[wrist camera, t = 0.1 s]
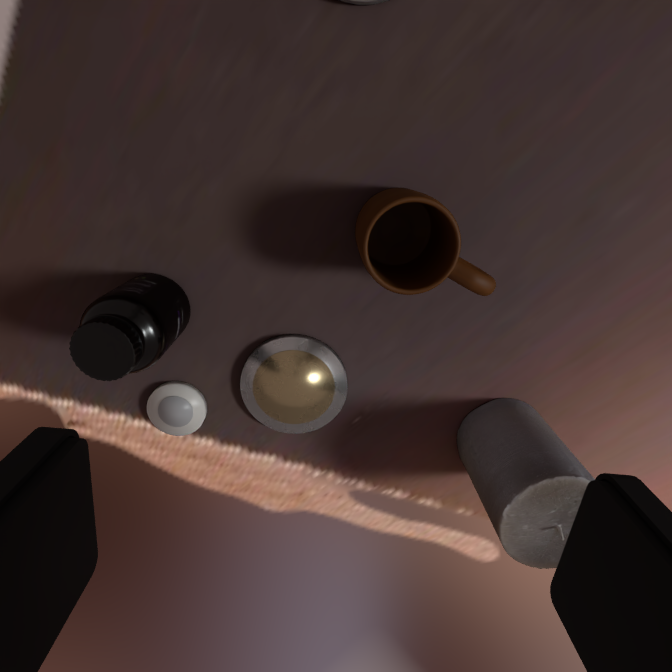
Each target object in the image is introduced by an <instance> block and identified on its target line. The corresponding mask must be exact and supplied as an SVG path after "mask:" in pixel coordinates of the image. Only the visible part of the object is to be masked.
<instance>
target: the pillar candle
mask: <svg viewBox="0 0 672 672" xmlns="http://www.w3.org/2000/svg"><path fill="white" fill-rule="evenodd" d="M457 446H458V450H459V456H460V459H461V460H462V462H463V464H464V466H465V468H466V470H467V472H468V474H469V476H470V478H471V480H472V483H473V485H474V487H475V489H476V491H477V493H478V495H479V497H480V499H481V501H482V503H483V506H484V508H485V510H486V512H487V514H488V516H489V518H490V520H491V522H492V524H493V527H494V529H495V531H496V533H497V535H498V537H499V539H500V541H501V543H502V546H503V548H504V549H505V551H506V552H507V553H508V554H509V555H510V556H511V557H512V558H513V559H515V560H516V561H518V562H520V563H522V564H525V565H528V566H530V567H536V568H540V569H542V568H546V569H547V568H557V566H558V563H559V560H560V558H561V555H562V552H563V550H564V547H565V544H566V541H567V539H568V536H569V533H570V530H571V528H572V525H573V522H574V520H575V517H576V514H577V511H578V509H579V506H580V503H581V500H582V498H583V495H584V492H585V490H586V487H587V485H588V483H589V482H590V481H593V480H595V479H594V478H593V477H592V476H591V474H590V473H589V472H588V471H587V470H586V469H585V467H584V466H583V465H582V464H581V463H580V462H579V460H578V459H577V458H576V457H575V456H574V455H573V453H572V452H571V451H570V450H569V449H568V448H567V446H566V445H565V444H564V443H563V442H562V441H561V439H560V438H559V437H558V436H557V435H556V434H555V432H554V431H553V430H552V429H551V428H550V427H549V425H548V424H547V423H546V422H545V421H544V420H543V418H542V417H541V416H540V415H539V413H538V412H537V411H536V410H535V409H534V408H533V407H531V406H530V405H528V404H527V403H525V402H523V401H520V400H516V399H511V398H500V399H495V400H492V401H490V402H488V403H486V404H483V405H482V406H480V407H478V408H476V409H475V410H473V411H472V412H470V413H469V414H468V415H467V416H466V417H465V419H464V420H463V421H462V423H461V425H460V428H459V430H458V434H457Z"/></svg>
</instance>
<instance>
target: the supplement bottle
mask: <svg viewBox="0 0 672 672" xmlns="http://www.w3.org/2000/svg"><path fill="white" fill-rule="evenodd" d="M189 319H190V304H189V300H188V298H187V295H186V294H185V292H184V291H183V289H182V288H181V287H180V286H179V285H178V284H177V283H176V282H174V281H173V280H171V279H169V278H167V277H165V276H162V275H158V274H144V275H140V276H137V277H135V278H133V279H131V280H129V281H127V282H126V283H124V284H122V285H121V286H119V287H117V288H115V289H114V290H112V291H110V292H109V293H107V294H105V295H103V296H102V297H100V298H98V299H97V300H95V301H94V302H93V303H91V304H90V305H89V306H88V307H87V308H86V310H85V311H84V313H83V315H82V317H81V320H80V326H79V327H78V329H77V330H76V331H75V332H74V334H73V336H72V337H71V342H70V348H69V349H70V351H71V353H70V355H71V356H72V359H73V361H74V362H75V364H76V366H77V367H79V369H80V370H81V371H83V372H84V373H85V374H86V375H89V376H90V377H91V378H95V379H97V380H102V381H106V380H107V381H111V380H117V379H118V378H122V377H123V376H125V375H127V374H131V373H137V372H141V371H144V370H146V369H148V368H150V367H151V366H152V365H154V364H155V363H156V362H157V361H158V360H159V359H160V358H161V356H162V355H163V354H164V353H165V352H166V351H167V349H168V348H169V347H170V346H171V345H172V344H173V342H174V341H175V340H176V339H177V338H178V337H179V335H180V334H181V333H182V332H183V331H184V329H185V328H186V326H187V324H188V322H189Z"/></svg>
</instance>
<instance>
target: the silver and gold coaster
mask: <svg viewBox="0 0 672 672" xmlns="http://www.w3.org/2000/svg"><path fill="white" fill-rule="evenodd" d="M347 388H348V385H347V375H346V371H345V368H344V365H343V363H342V361H341V359H340V358H339V356H338V355H337V354H336V352H335V351H334V350H333V349H332V348H330V347H329V346H328V345H327V344H325V343H323V342H322V341H320V340H318V339H316V338H313V337H310V336H306V335H300V334H286V335H281V336H277V337H274V338H271V339H269V340H267V341H265V342H264V343H262V344H261V345H259V346H258V347H257V348H256V349H255V350H254V351H253V352H252V353H251V354H250V356H249V357H248V359H247V361H246V363H245V365H244V368H243V370H242V374H241V380H240V390H241V395H242V398H243V401H244V403H245V405H246V407H247V409H248V410H249V412H250V413H251V414H252V415H253V416H254V417H255V418H256V419H257V420H258V421H259V422H261V423H262V424H263V425H265V426H267V427H269V428H271V429H273V430H276V431H280V432H284V433H293V434H298V433H306V432H311V431H314V430H317V429H319V428H321V427H323V426H325V425H326V424H328V423H329V422H330V421H332V420H333V419H334V418H335V417H336V416H337V414H338V413H339V412H340V410H341V409H342V407H343V405H344V402H345V400H346V396H347Z"/></svg>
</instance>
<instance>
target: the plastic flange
mask: <svg viewBox="0 0 672 672" xmlns="http://www.w3.org/2000/svg"><path fill="white" fill-rule="evenodd" d="M147 414H148V417H149V419H150V421H151V422H152V423H153V425H154V426H155V427H157V428H158V429H159V430H161V431H162V432H164V433H167V434H170V435H175V436H183V435H188V434H191V433H193V432H195V431H196V430H197V429H198V428H199V427H200V426H201V425H202V423H203V421H204V419H205V417H206V414H207V403H206V400H205V398H204V396H203V394H202V393H201V392H200V391H199V390H198V389H197V388H196V387H194V386H193V385H191V384H188V383H186V382H182V381H170V382H166V383H163V384H161V385H160V386H158V387H157V388H156V389H155V390H154V392H153V393H152V394H151V396H150V397H149V399H148V402H147Z"/></svg>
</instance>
